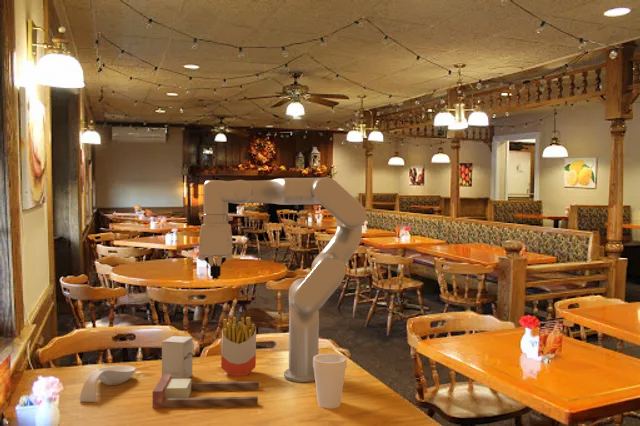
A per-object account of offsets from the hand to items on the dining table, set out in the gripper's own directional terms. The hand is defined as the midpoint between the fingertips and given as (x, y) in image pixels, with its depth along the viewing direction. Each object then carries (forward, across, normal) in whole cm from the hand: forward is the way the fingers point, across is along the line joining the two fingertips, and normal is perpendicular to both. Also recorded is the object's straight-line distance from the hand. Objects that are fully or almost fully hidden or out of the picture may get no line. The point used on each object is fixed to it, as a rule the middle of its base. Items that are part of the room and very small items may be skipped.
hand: (215, 278), depth 172 cm
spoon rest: (+33, +31, +5) cm, 46 cm away
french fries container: (+32, -7, -6) cm, 34 cm away
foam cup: (+32, -34, +22) cm, 52 cm away
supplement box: (+32, +12, -2) cm, 35 cm away
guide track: (+32, 0, +15) cm, 35 cm away
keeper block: (+32, +9, +14) cm, 36 cm away
